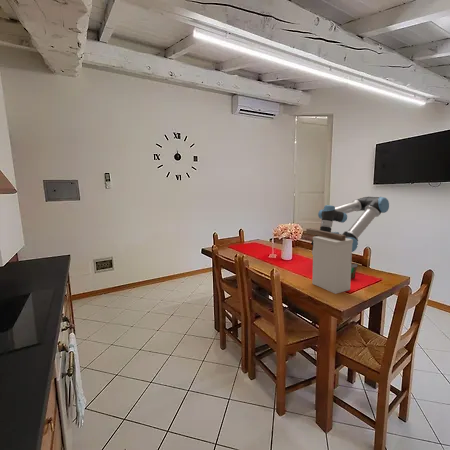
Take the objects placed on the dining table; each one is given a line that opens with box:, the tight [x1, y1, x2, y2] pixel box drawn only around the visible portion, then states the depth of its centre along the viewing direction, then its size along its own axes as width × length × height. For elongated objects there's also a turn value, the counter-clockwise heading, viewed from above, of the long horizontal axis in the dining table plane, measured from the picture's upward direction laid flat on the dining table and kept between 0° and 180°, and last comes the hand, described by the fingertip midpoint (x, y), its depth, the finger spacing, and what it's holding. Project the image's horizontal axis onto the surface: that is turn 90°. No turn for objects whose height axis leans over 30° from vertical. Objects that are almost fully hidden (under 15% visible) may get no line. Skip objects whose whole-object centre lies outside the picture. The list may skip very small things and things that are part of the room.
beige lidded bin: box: [311, 235, 353, 295], centre depth 159 cm, size 13×18×30 cm
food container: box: [351, 263, 358, 280], centre depth 176 cm, size 12×6×10 cm, turn 36°
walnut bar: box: [305, 228, 346, 241], centre depth 162 cm, size 3×28×3 cm, turn 26°
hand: (320, 256), depth 189 cm, fingers open, 13 cm apart
